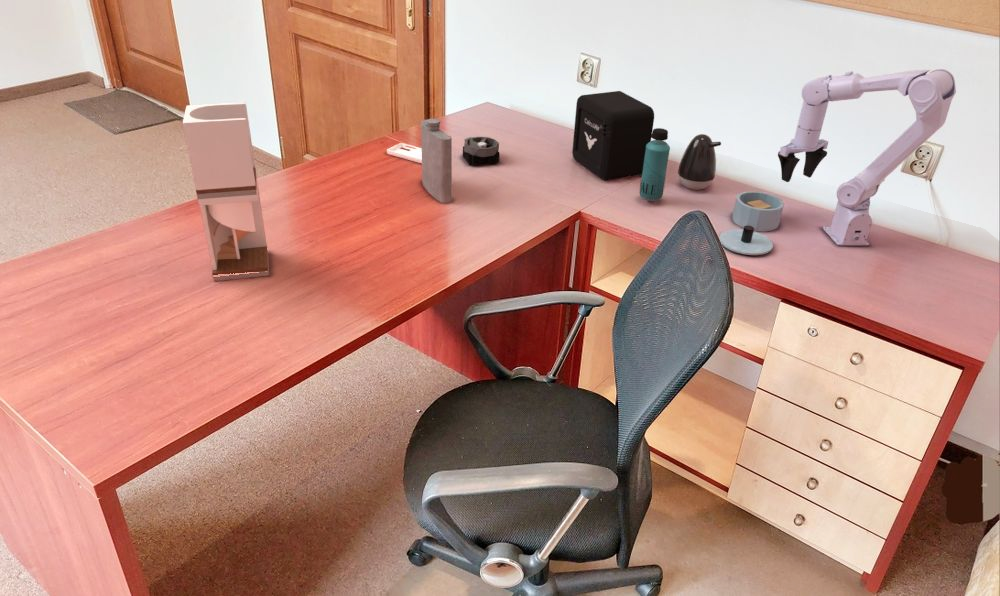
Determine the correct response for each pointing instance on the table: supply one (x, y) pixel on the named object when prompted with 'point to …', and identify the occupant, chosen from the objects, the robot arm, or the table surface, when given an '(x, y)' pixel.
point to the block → (759, 204)
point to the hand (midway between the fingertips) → (796, 178)
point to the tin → (757, 211)
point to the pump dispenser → (698, 163)
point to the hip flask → (436, 160)
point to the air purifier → (612, 134)
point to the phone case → (406, 152)
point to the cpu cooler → (481, 151)
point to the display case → (227, 188)
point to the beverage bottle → (655, 166)
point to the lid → (746, 241)
